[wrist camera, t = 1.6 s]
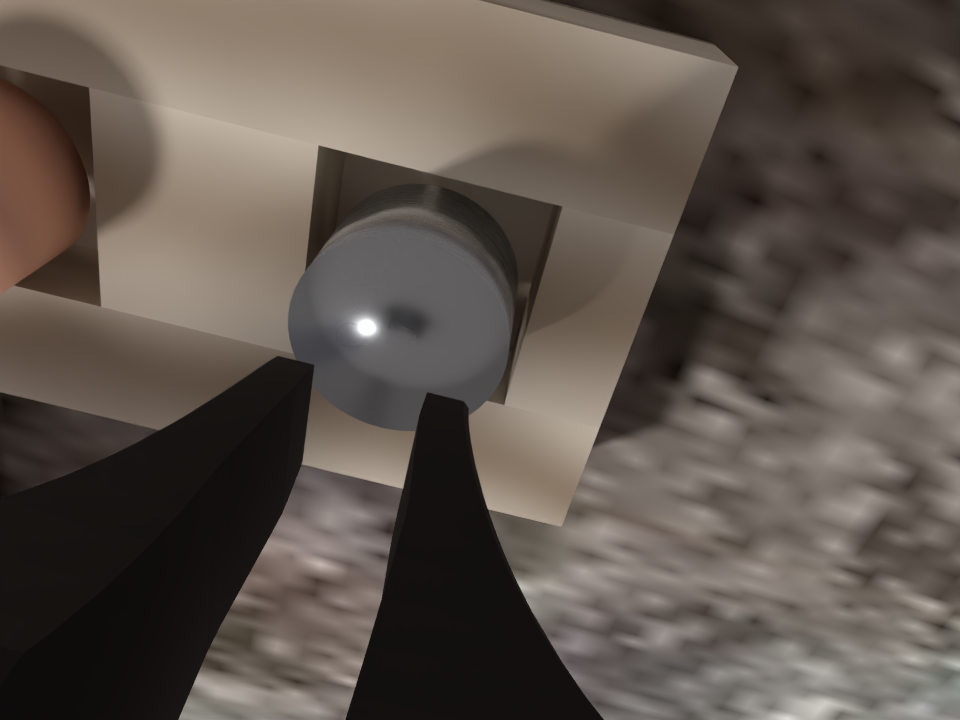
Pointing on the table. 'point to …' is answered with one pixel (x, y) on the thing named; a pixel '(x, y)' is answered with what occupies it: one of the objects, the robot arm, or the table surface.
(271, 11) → the button panel
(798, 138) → the table surface
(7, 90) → the terracotta button
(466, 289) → the grey button
